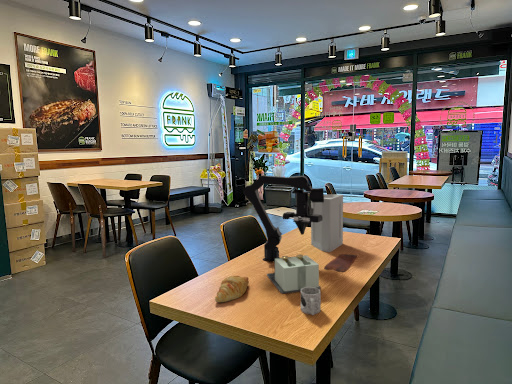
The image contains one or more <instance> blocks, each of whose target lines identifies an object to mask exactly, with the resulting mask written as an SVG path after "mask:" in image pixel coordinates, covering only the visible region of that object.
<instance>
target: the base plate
mask: <svg viewBox="0 0 512 384" xmlns="http://www.w3.org/2000/svg"><path fill="white" fill-rule="evenodd" d="M296 256H297V258H299V259H300V260H301V258H303V256H304V255H303V254H297V255H296ZM288 257H289V256H287V255H282V256H281V258H282V259H283V260H284V261H285V262H286V259H288ZM286 263H287V262H286ZM266 276H267V277H268V279H269V280H270V281H271V283H273V285H274V286H275V287H276V289H277V290H278V292H279V293H280V294H281V295H283V294H289V293H290V294H292V293H297V292H300V293H301V289H300V290H292V291H283V289H282V288H281V287H280V286H279V284H278V283H277V282H276V281H275V272H271V273H266ZM316 288H318V289H319V290H322V288H321V286H320V285H319V287H316Z"/></svg>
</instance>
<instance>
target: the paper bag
mask: <svg viewBox="0 0 512 384" xmlns="http://www.w3.org/2000/svg"><path fill="white" fill-rule="evenodd" d="M310 208H313V209H314V210H313V215H314V214H319V215H322V217H323V220H322V221H320V222H317V223H316V222H310V225H311V226H310V229H311V230H310V233H311V234H310V235H311V236H310V240H311V241H310V245H311V246H312V245H313V246H312V247H314V248H316V249H318V250H320V251H321V252H325V253H326V252H327V253H332V252H333V251H334V250H336V249H338V248H339V247H340V246H342V245H343V241H344V239H343V238H344V236H343V235H344V226H343V225H344V194H335V193H334V194H324V203H312V201H311V200H310Z"/></svg>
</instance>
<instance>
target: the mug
mask: <svg viewBox="0 0 512 384" xmlns="http://www.w3.org/2000/svg"><path fill="white" fill-rule="evenodd" d="M321 293H322V292H321V289H318V288H315V287H305V288H302V289H301V291H300V311H301V312H302V313H304V314H306V315H312V316H315V315H317V314H319V313H320V312H321V309H322V308H321V306H322V305H321V304H322V303H321V302H322V301H321Z"/></svg>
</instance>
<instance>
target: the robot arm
mask: <svg viewBox="0 0 512 384" xmlns="http://www.w3.org/2000/svg"><path fill="white" fill-rule="evenodd" d="M267 184H268V185H278V186H279V185H281V186H288V187H293V188H294V189H293V190H292V191H291V194H295V205H294V208H295V211H296V212H294V211H286V212H284V213H283V214H282V219H283V220H289V219H290V218H292V219H293V221H292V222H293V223H295V225H296V227H297V229H298V230H299V232H300V235H304V234H305V230H306V228H307V226H308V224H309V223H311V222H316V223H317V222H320V221H322V220H323V217H322V215H319V214H314V215H313V210H314V209H313V208H311V204H309V201H310V202H311V201H312V203H324V195H325V194H324V188H323V187H320V188H313V187H312V186H311V184H310V183H309V179H308V177H307V176H305V175H297V176H291V177H288V176H275V175H274V176H273V175H266V174H263V175H260V176H259V177H258V178H257V179H256V180H255V181H254V182H253V183H251V184H249V185H246V186H245V187H244V188H243V191H242V192H243V195H244V196H245V197H246V199H247V200H248V201H249V202H250V203H251V204H252V206H253V208H254V210H255V213H256V214H257V215H258V216H257V217H258V218H259V219H260V221H261V223H262V226H263V228H264V230H265V233H266V237H267V240H266V242H265V243H264V245H263V247H264V250H263V251H264V253H263V254H264V255H263V256H264V258H262V260H263V261H266V262H272V263H275V260H274V259H276V258H281V257H280V250H279V245H280V243H281V240H282V235H283V233H282V232H281V230H280V227H279V226H277V227H275V226H274V224H273V222H272V220H271V219H270V216H269V214H268V212H267V210H266V208H265V206H264V205H263V203H262V201H261V198H260V193H259V189H260V188H261V187H262V186H263V185H267Z"/></svg>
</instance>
